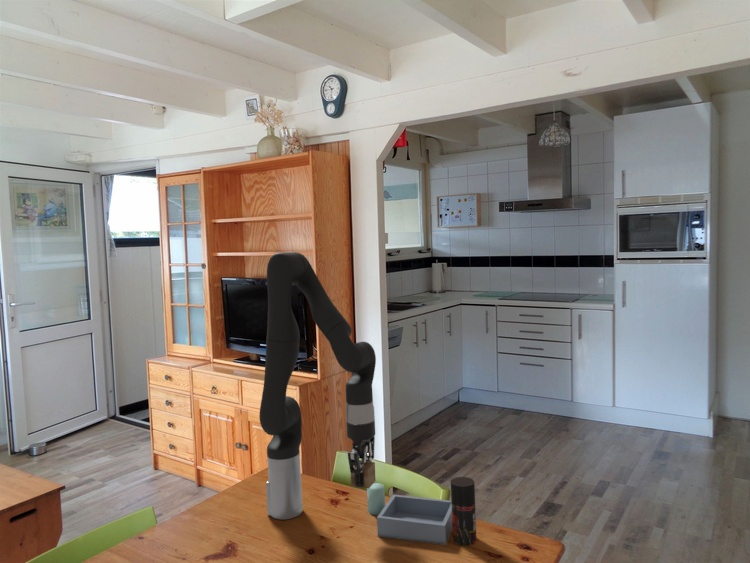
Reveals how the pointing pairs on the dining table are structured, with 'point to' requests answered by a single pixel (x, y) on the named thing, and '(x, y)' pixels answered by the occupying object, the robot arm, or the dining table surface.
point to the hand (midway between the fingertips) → (363, 481)
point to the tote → (416, 519)
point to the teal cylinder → (376, 498)
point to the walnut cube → (366, 475)
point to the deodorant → (463, 511)
